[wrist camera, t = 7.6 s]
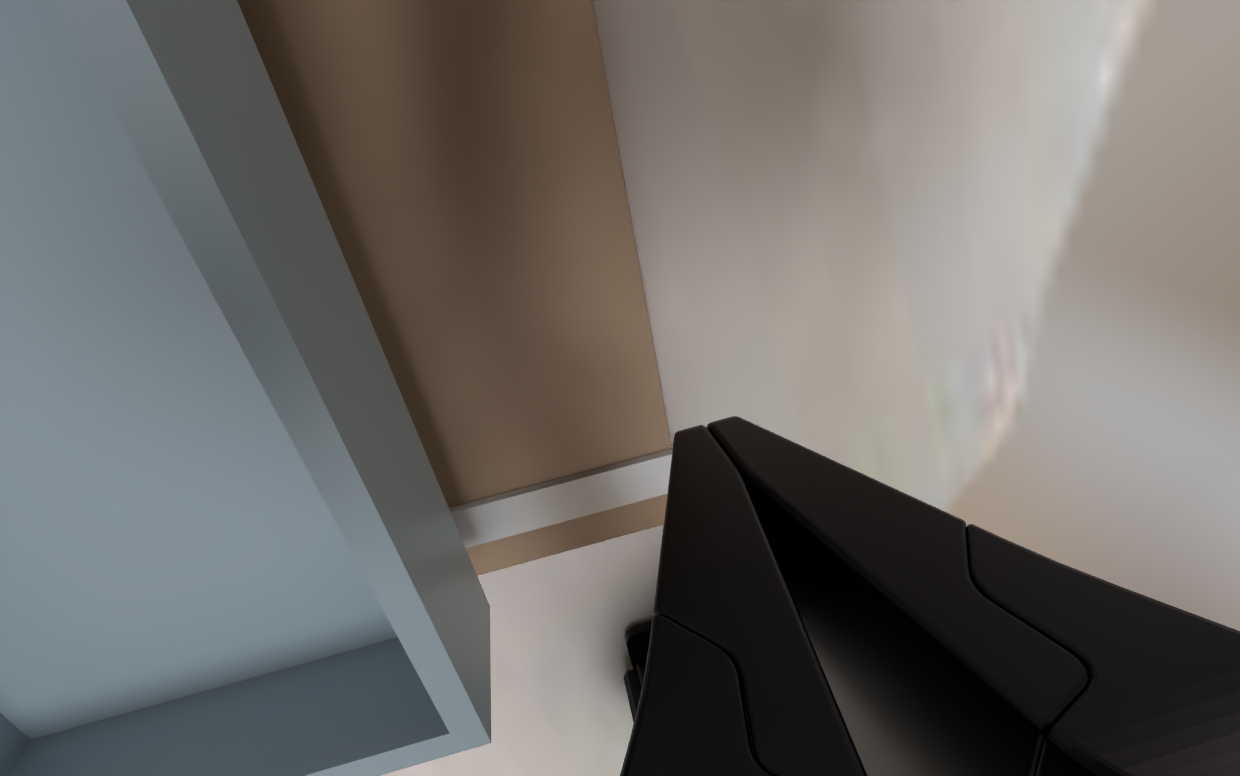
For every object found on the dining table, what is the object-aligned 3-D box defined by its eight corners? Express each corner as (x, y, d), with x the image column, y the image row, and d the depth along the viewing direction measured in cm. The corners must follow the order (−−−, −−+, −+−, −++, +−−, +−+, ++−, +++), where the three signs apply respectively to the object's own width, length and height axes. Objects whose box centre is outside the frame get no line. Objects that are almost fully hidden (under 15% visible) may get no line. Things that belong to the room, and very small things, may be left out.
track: (531, -297, 13) (536, -328, 12) (677, 502, 24) (686, 524, 23) (-507, -111, 12) (-610, -127, 11) (140, 647, 23) (123, 679, 22)
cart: (200, -181, 12) (-64, -388, 6) (489, 553, 22) (491, 742, 16) (-576, -38, 11) (-1734, -124, 5) (84, 663, 21) (-73, 908, 15)
